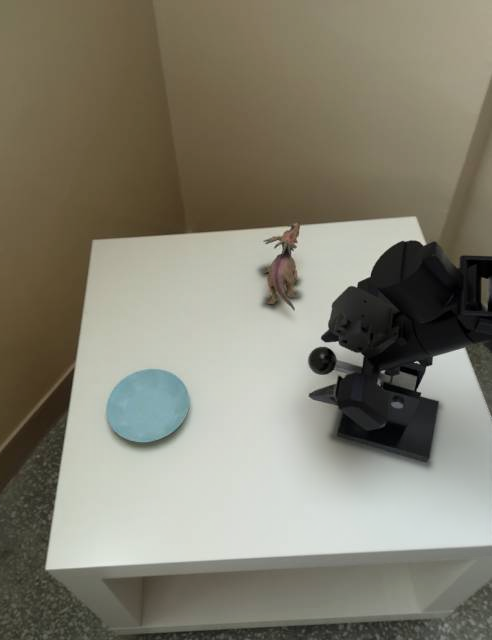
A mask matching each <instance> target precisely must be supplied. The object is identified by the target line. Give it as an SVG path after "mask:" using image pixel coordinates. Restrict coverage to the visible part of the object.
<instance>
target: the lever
mask: <svg viewBox="0 0 492 640" xmlns="http://www.w3.org/2000/svg"><path fill="white" fill-rule="evenodd" d="M307 364H308V367H309V369H310V370H311V372H313V373H314V374H316V375H318V376H326V375H329V374H331V373H332V372H333V371H336V372H338V373H342V374H345V375H348V374H351V373H359V374H361V371H362V366H359V365H356V364H353V363H350V362H347V361H343V360H341V359H338V357H337V354H336V353H335V352H334V350H333V349H331V348H330V347H327V346H318V347H315V348H314V349H312V350H311V351H310V352H309V355H308V357H307ZM416 380H417V376H414V375H411V374H408V373H404V372H401V371H400V374H398V375H395V376H390V375H386V374H384V372H381V377H380V385H383V383H386V384H390V385H394V386H398V387H402V388H405V389H409V390H413V391H414V390H415V385H416ZM380 385H379V386H380Z"/></svg>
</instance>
